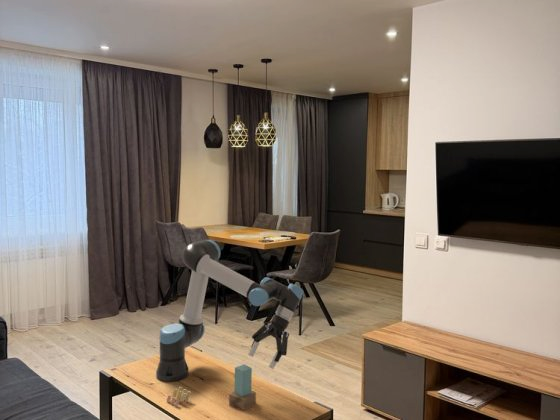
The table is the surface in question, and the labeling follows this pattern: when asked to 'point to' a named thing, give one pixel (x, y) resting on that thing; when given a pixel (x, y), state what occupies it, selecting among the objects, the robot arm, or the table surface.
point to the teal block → (243, 380)
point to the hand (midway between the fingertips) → (260, 361)
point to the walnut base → (242, 400)
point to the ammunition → (179, 394)
